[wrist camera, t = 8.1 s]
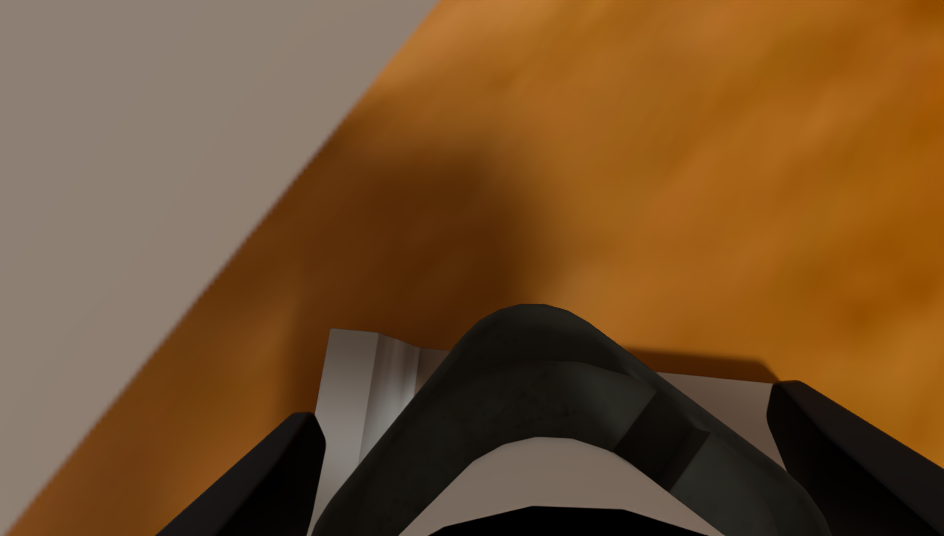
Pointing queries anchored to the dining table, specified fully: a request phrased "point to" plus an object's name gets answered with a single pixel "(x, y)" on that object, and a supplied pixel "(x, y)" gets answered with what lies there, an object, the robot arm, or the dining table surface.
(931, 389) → the dining table surface
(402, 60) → the dining table surface
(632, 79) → the dining table surface
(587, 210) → the dining table surface
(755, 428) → the shelf board
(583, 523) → the candle
